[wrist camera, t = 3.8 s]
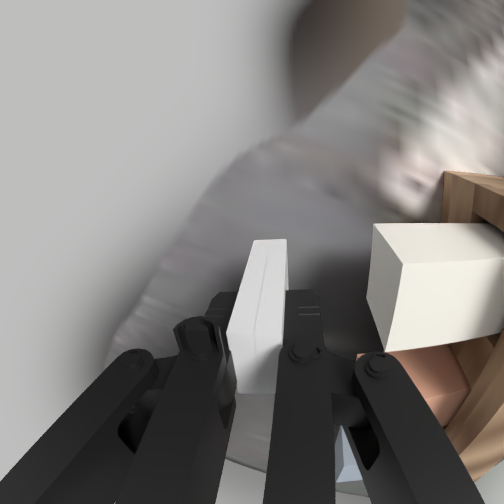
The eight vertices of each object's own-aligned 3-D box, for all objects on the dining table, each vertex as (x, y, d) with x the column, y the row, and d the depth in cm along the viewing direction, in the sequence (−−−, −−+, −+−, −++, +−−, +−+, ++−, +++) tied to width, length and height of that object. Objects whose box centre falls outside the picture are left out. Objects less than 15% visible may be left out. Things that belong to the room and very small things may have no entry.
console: (449, 402, 23) (474, 482, 13) (386, 415, 24) (400, 506, 14) (523, 180, 13) (629, 239, 3) (444, 170, 14) (577, 240, 4)
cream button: (495, 286, 13) (529, 324, 9) (366, 298, 14) (384, 352, 10) (510, 223, 11) (553, 254, 7) (373, 223, 12) (402, 263, 9)
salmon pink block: (458, 377, 16) (475, 416, 12) (348, 394, 17) (354, 442, 14) (477, 337, 14) (501, 378, 11) (357, 354, 15) (367, 407, 12)
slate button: (425, 430, 19) (434, 464, 15) (334, 444, 20) (336, 482, 17) (441, 407, 17) (453, 444, 14) (341, 423, 19) (344, 466, 15)
